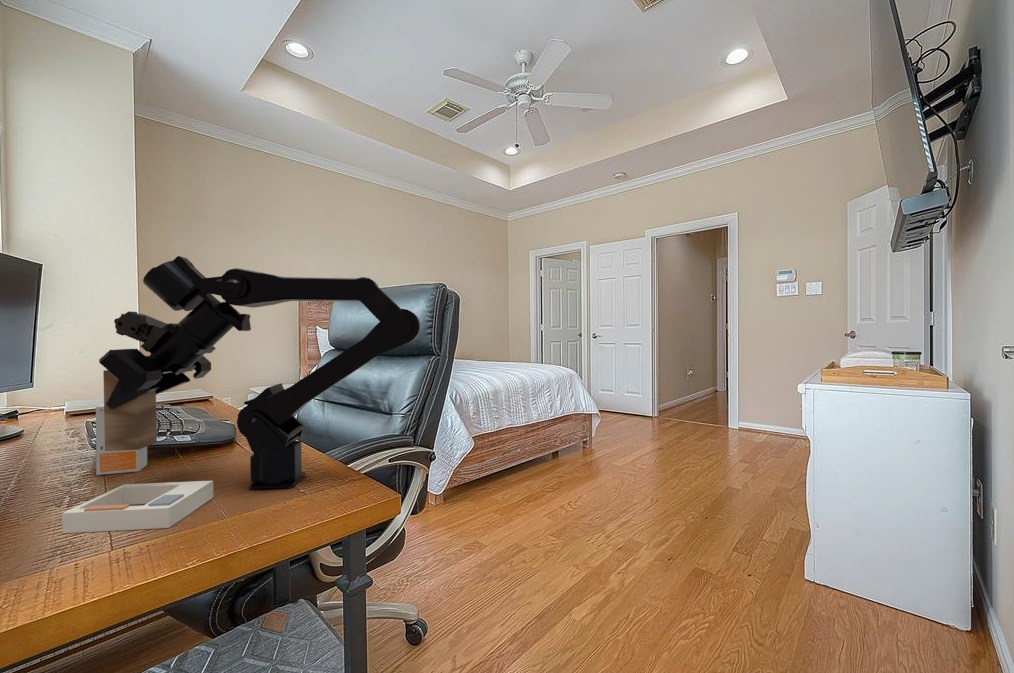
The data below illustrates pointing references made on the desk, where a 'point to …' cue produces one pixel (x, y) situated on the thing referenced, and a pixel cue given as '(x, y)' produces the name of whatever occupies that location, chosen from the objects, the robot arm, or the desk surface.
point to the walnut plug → (129, 420)
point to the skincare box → (115, 453)
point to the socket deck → (138, 507)
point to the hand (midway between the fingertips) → (120, 404)
